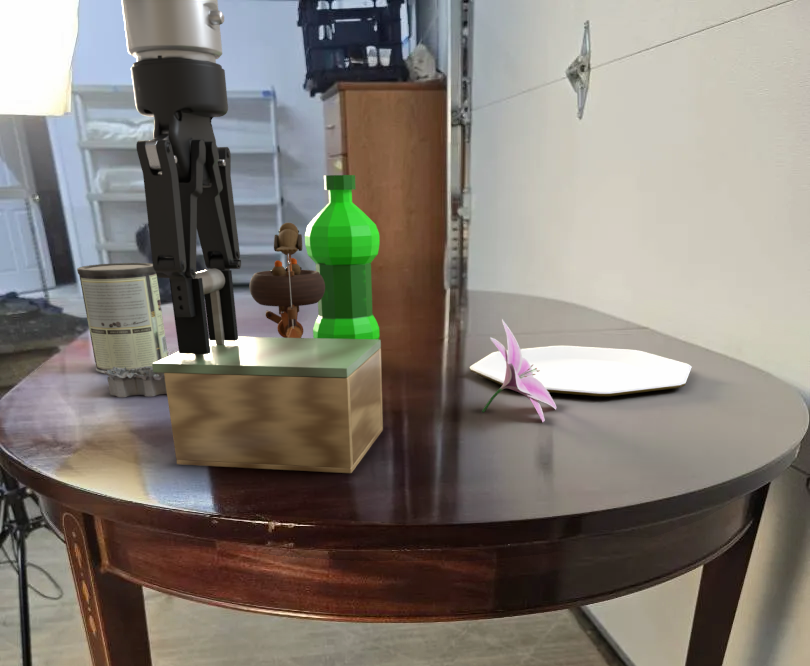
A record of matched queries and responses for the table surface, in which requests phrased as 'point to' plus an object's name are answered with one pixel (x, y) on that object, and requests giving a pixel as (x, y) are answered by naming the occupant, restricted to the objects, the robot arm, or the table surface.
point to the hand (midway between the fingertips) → (209, 345)
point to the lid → (267, 350)
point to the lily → (521, 375)
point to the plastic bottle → (343, 263)
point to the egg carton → (136, 382)
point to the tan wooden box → (276, 419)
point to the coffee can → (123, 314)
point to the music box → (287, 284)
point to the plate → (592, 370)
